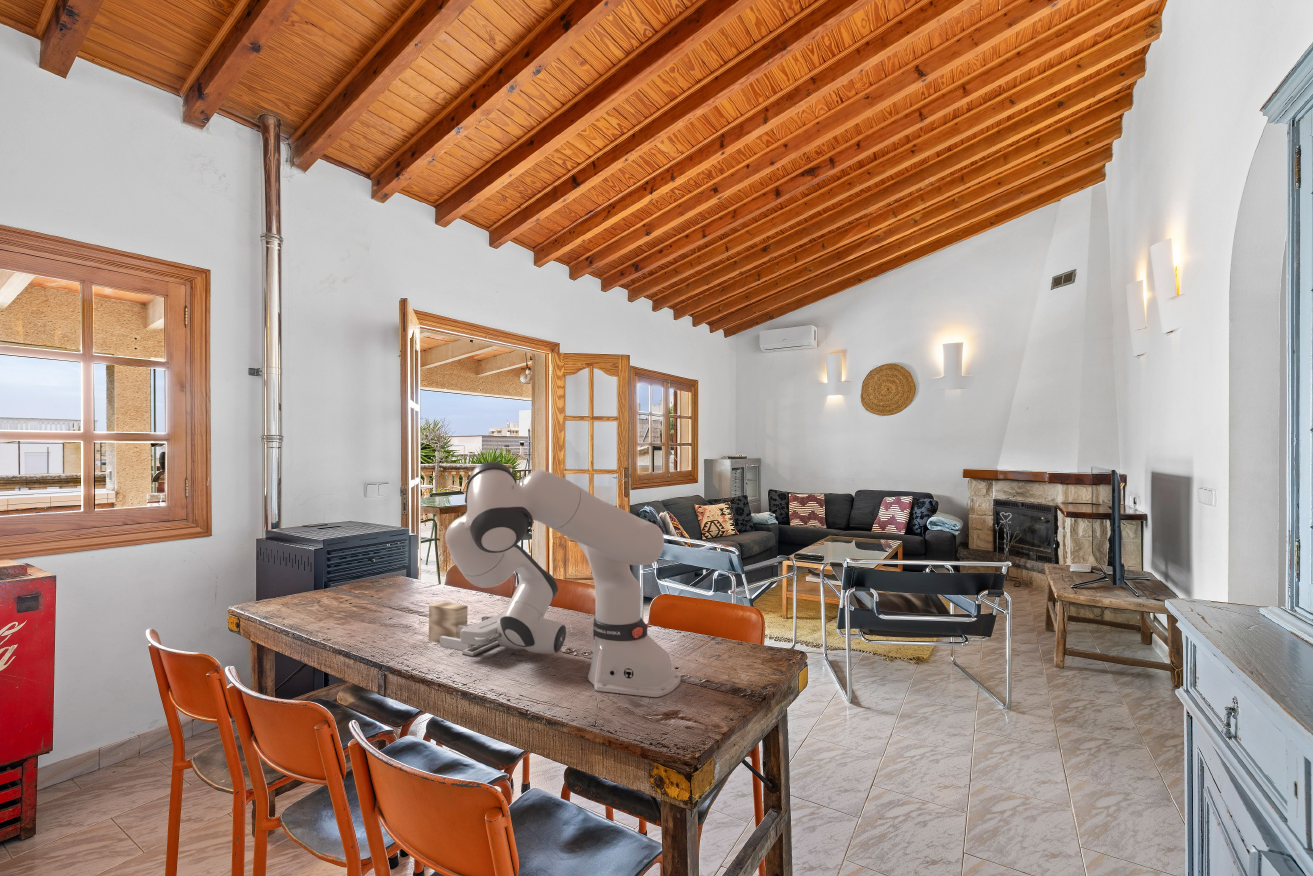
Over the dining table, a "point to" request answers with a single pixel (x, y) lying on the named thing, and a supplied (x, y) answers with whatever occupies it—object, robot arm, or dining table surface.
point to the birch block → (446, 620)
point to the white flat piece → (453, 643)
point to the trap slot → (479, 649)
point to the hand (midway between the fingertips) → (471, 623)
